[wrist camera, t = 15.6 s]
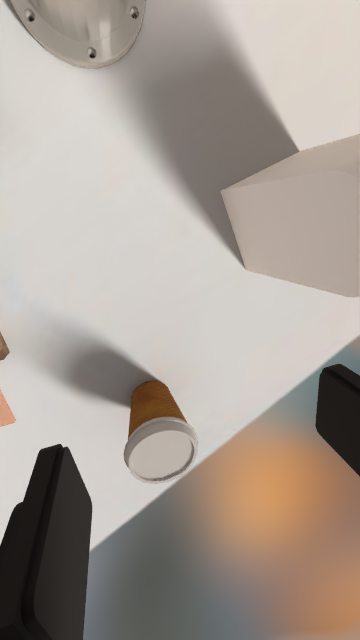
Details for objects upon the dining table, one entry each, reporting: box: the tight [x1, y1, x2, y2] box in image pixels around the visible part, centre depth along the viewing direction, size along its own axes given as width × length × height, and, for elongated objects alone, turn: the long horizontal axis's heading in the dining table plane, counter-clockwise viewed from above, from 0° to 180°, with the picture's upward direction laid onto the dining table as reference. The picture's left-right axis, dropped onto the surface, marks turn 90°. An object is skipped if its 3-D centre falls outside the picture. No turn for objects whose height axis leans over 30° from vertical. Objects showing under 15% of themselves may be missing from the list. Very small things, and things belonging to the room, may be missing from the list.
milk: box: [220, 134, 360, 297], centre depth 24 cm, size 12×12×26 cm
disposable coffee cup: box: [124, 381, 198, 484], centre depth 37 cm, size 10×10×12 cm
